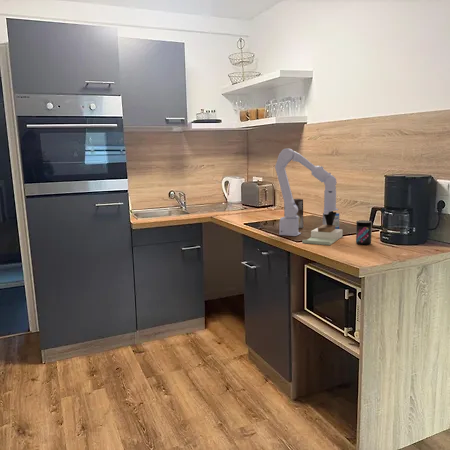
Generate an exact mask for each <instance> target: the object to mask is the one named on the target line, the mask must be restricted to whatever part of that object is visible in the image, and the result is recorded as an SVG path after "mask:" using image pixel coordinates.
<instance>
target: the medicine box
mask: <svg viewBox="0 0 450 450" xmlns="http://www.w3.org/2000/svg"><path fill="white" fill-rule="evenodd" d="M322 225H327V223H326V219H325V216H324V214H323V213H322ZM333 225H335V229H340V213H339V212H336V215H335V218H334V221H333Z"/></svg>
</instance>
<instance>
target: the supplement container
mask: <svg viewBox="0 0 450 450" xmlns="http://www.w3.org/2000/svg"><path fill="white" fill-rule="evenodd" d="M355 223H356V224H355V225H356V226H355V228H356V229H355V243H356V245H359V246H370V245H371V244H372V235H373V234H372V230H373V228H372V226H373V222H372V221H371V220H368V219H367V220H366V219H365V220H364V219H362V220H356V222H355Z"/></svg>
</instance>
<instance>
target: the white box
mask: <svg viewBox="0 0 450 450" xmlns="http://www.w3.org/2000/svg"><path fill="white" fill-rule="evenodd" d="M311 237H313V238H326V239H337V241H338V240H339V239H341V238H342V237H343V229H341V228H339V229H335V230H333V231H332V232H318V227H316V228H314V229H312V230H310V238H311Z"/></svg>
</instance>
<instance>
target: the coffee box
mask: <svg viewBox="0 0 450 450" xmlns="http://www.w3.org/2000/svg"><path fill="white" fill-rule="evenodd" d="M293 199H294V202H295V204H296V205H297V207H298V213H297V216H298V218H299V229H302V228H304V199H302V198H293ZM283 211H285V206H284V205H283ZM284 216H286V215H285V213H283V217H284Z"/></svg>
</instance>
